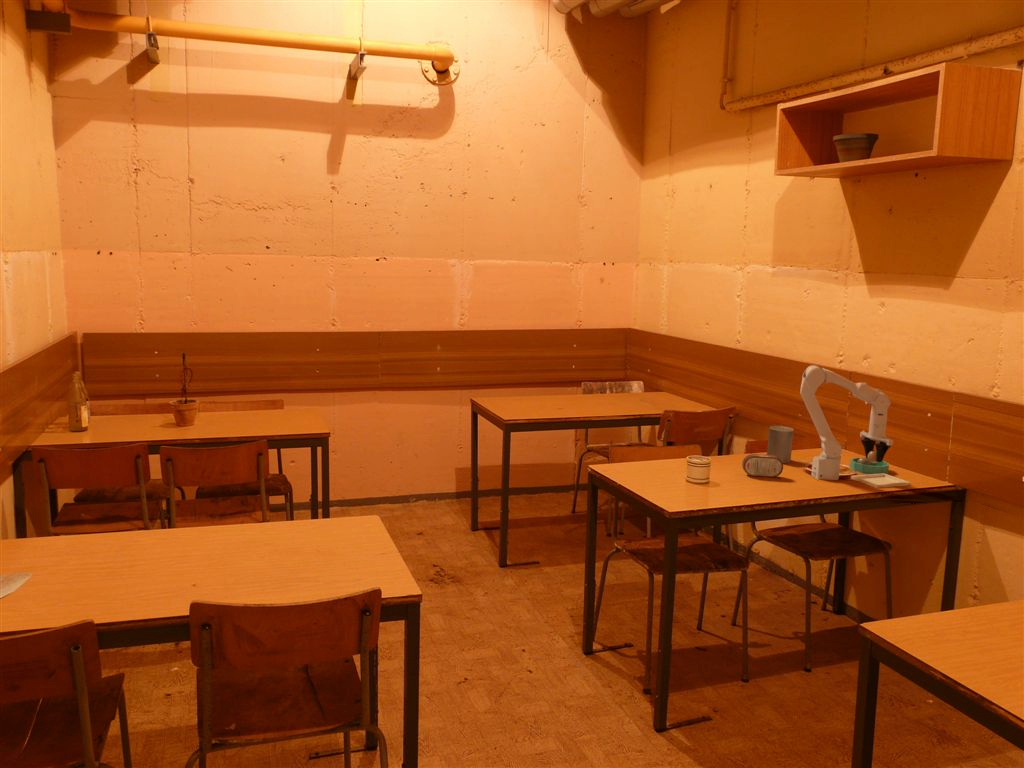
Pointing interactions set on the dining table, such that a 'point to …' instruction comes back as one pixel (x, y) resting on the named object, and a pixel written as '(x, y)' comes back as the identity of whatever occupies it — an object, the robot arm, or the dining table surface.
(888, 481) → the tray
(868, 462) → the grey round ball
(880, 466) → the teal bowl
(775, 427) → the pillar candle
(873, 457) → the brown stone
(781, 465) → the tin
